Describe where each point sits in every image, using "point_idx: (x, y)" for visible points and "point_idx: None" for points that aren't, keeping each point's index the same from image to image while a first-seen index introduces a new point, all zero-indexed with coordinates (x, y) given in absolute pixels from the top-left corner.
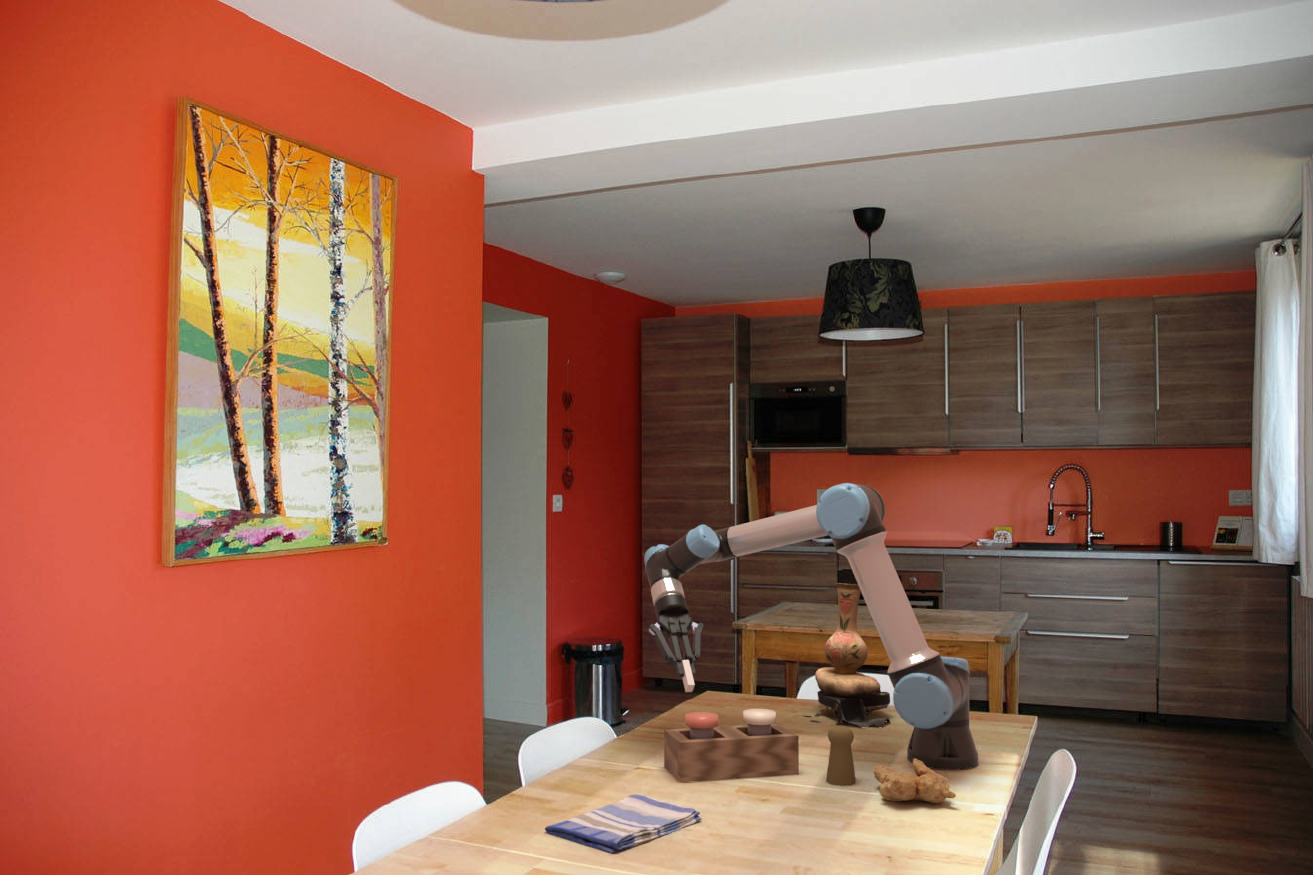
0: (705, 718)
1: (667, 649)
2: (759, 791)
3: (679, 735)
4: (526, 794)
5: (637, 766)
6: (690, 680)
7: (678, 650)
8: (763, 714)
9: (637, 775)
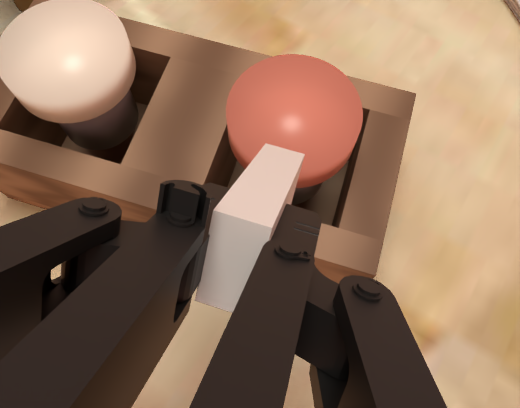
0: (315, 61)
1: (391, 352)
2: (254, 20)
3: (369, 171)
4: None
5: None
6: (280, 157)
7: (260, 299)
8: (82, 14)
9: (460, 268)
